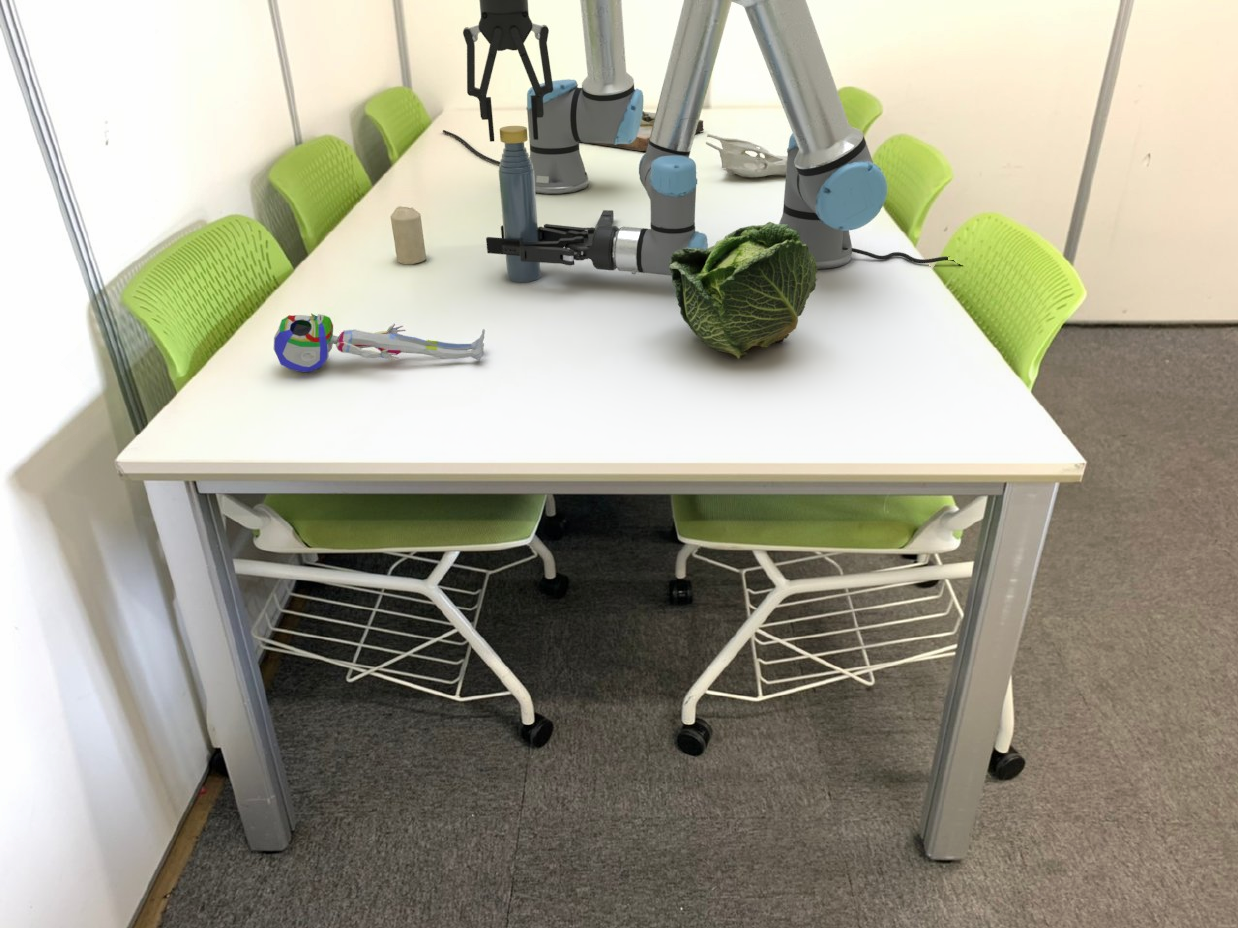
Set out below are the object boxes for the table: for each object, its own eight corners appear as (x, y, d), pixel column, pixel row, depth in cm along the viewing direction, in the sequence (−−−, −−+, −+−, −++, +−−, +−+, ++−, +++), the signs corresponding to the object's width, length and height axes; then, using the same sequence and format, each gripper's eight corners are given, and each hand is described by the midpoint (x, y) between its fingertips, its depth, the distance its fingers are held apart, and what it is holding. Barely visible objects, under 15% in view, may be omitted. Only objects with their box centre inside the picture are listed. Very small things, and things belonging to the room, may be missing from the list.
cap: (520, 144, 149) (519, 132, 148) (495, 142, 150) (494, 130, 149) (532, 138, 152) (531, 126, 151) (507, 136, 154) (507, 125, 153)
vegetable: (704, 370, 145) (643, 264, 138) (800, 304, 147) (745, 195, 139) (754, 397, 127) (686, 277, 119) (863, 321, 128) (804, 197, 121)
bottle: (539, 269, 167) (529, 127, 153) (542, 281, 162) (533, 135, 148) (506, 271, 166) (494, 129, 153) (508, 283, 161) (496, 137, 148)
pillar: (613, 210, 190) (600, 241, 173) (613, 220, 191) (600, 251, 174) (603, 210, 190) (589, 240, 173) (603, 220, 191) (589, 251, 174)
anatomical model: (708, 130, 224) (809, 129, 220) (707, 168, 229) (806, 167, 225) (703, 145, 212) (811, 144, 208) (703, 184, 216) (808, 183, 213)
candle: (431, 256, 173) (424, 204, 168) (417, 265, 169) (409, 213, 164) (406, 253, 175) (399, 202, 170) (391, 262, 171) (383, 210, 165)
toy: (484, 341, 128) (264, 324, 124) (481, 394, 133) (269, 379, 128) (485, 314, 137) (280, 296, 132) (482, 364, 141) (284, 349, 136)
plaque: (647, 125, 237) (559, 112, 252) (647, 153, 241) (560, 139, 256) (706, 107, 258) (622, 97, 273) (705, 133, 262) (622, 121, 277)
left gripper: (437, -12, 135) (454, 146, 147) (567, -16, 136) (573, 141, 149) (439, -16, 141) (456, 136, 153) (563, -19, 143) (570, 131, 155)
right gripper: (602, 289, 150) (475, 277, 156) (632, 252, 166) (515, 242, 171) (601, 245, 146) (471, 235, 152) (632, 211, 162) (512, 203, 167)
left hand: (513, 138), depth 151 cm, fingers open, 7 cm apart
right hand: (495, 239), depth 162 cm, fingers closed on bottle, 6 cm apart
